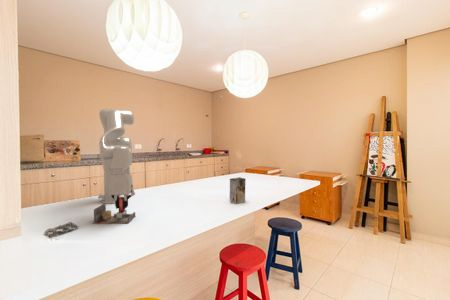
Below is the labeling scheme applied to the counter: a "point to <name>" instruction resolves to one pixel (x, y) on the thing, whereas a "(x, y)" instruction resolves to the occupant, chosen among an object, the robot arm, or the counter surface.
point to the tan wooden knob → (106, 215)
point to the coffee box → (237, 190)
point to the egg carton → (64, 227)
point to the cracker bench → (113, 219)
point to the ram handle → (121, 209)
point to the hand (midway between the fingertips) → (121, 207)
